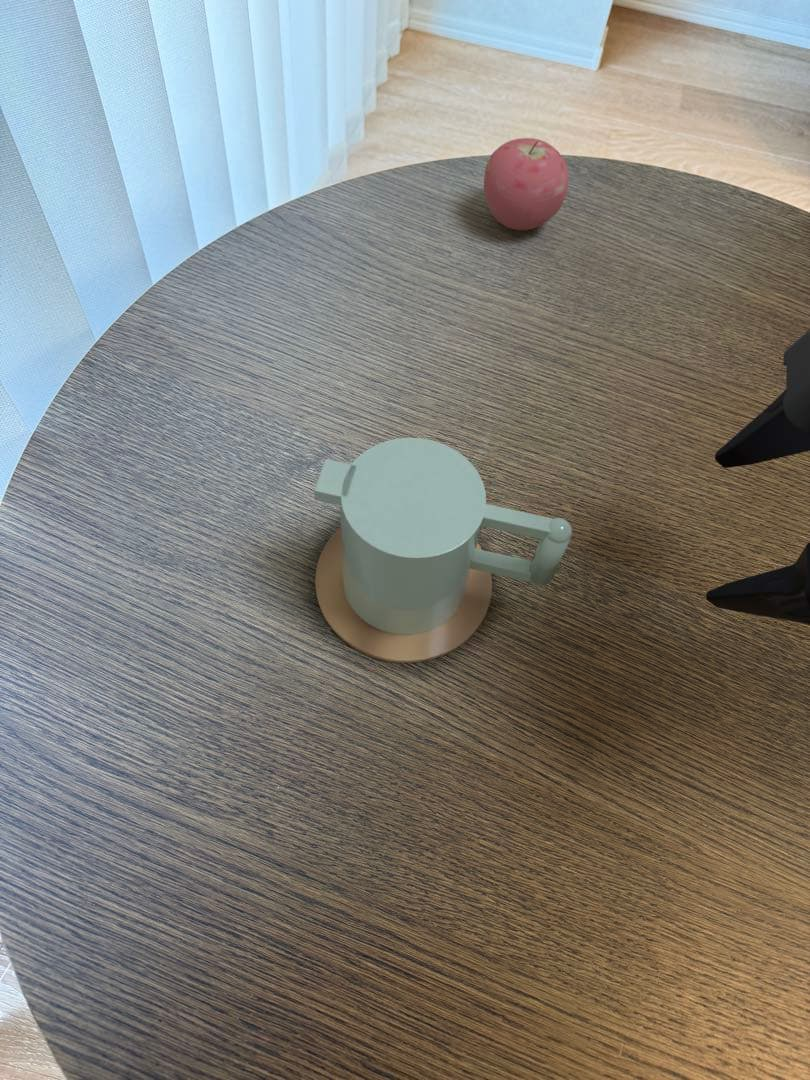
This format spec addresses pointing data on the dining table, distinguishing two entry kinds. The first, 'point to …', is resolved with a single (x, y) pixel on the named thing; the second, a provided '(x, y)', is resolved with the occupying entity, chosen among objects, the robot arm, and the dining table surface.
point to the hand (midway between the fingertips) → (715, 527)
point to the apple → (525, 183)
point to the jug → (424, 533)
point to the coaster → (389, 643)
